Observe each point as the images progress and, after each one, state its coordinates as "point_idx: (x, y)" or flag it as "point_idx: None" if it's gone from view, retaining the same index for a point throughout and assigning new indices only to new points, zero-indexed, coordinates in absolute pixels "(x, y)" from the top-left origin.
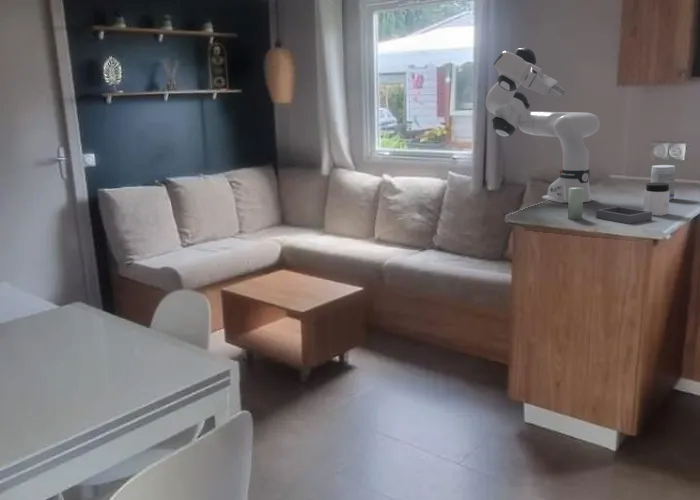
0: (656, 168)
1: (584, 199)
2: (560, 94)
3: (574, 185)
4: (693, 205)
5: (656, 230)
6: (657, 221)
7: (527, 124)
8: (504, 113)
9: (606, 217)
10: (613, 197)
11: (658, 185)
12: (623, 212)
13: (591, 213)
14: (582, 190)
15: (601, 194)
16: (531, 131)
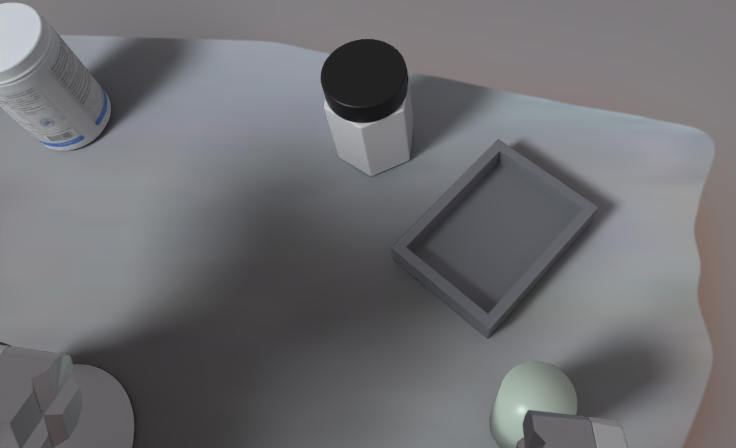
0: (25, 63)
1: (116, 390)
2: (616, 431)
3: (76, 430)
4: (211, 41)
5: (684, 144)
6: (519, 139)
7: None
8: None
9: (523, 296)
10: (8, 276)
11: (405, 69)
12: (424, 235)
13: (389, 358)
14: (551, 367)
15: None
16: None
